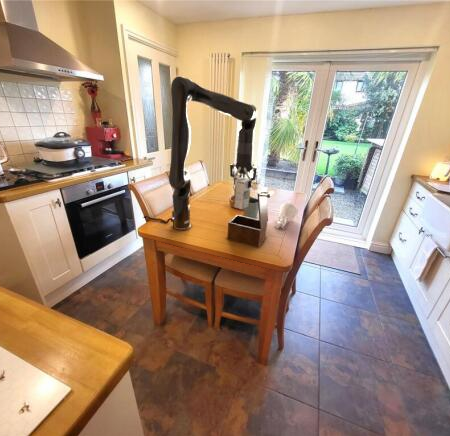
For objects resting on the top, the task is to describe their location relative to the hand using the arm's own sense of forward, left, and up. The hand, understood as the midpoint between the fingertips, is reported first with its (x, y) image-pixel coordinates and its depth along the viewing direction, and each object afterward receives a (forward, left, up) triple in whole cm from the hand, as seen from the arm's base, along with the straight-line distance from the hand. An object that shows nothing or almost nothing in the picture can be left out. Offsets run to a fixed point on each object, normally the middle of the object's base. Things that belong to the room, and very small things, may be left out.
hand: (242, 186), depth 115 cm
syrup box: (0, 0, -11) cm, 11 cm away
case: (+4, +2, -29) cm, 29 cm away
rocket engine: (+16, +31, -29) cm, 45 cm away
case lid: (+11, +2, -10) cm, 14 cm away
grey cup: (-4, +28, -29) cm, 41 cm away
